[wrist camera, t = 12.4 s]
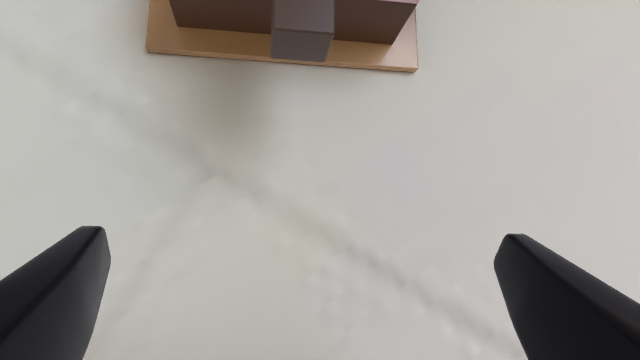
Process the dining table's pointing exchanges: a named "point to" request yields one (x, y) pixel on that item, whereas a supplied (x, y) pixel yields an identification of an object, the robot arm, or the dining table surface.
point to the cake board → (257, 46)
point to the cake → (255, 17)
